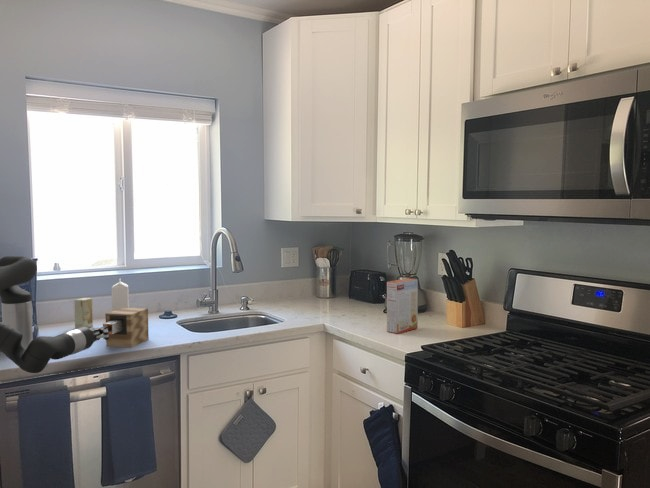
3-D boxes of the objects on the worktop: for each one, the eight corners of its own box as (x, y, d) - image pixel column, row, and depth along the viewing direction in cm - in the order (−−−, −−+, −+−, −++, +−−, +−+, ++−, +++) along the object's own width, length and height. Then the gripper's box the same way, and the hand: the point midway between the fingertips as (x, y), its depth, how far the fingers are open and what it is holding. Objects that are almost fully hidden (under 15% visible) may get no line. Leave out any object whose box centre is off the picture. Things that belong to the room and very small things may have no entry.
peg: (112, 334, 189) (112, 324, 189) (103, 333, 190) (102, 323, 190) (131, 326, 201) (131, 317, 201) (122, 326, 202) (122, 316, 201)
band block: (131, 347, 195) (130, 314, 194) (106, 346, 197) (105, 313, 196) (148, 339, 207) (147, 308, 206) (124, 338, 209) (124, 307, 208)
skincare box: (83, 329, 223) (82, 300, 222) (74, 329, 224) (73, 299, 223) (93, 326, 229) (92, 297, 228) (84, 325, 230) (83, 297, 229)
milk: (112, 335, 214) (110, 279, 212) (114, 331, 220) (112, 277, 218) (129, 334, 216) (127, 279, 214) (130, 330, 221) (128, 277, 220)
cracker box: (406, 326, 230) (407, 277, 229) (418, 328, 226) (418, 279, 224) (385, 331, 220) (386, 280, 219) (397, 334, 216) (397, 282, 215)
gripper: (93, 330, 171) (124, 319, 188) (56, 328, 174) (90, 317, 191) (93, 353, 171) (124, 340, 188) (57, 351, 174) (91, 338, 191)
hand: (107, 328), depth 189 cm, fingers closed
